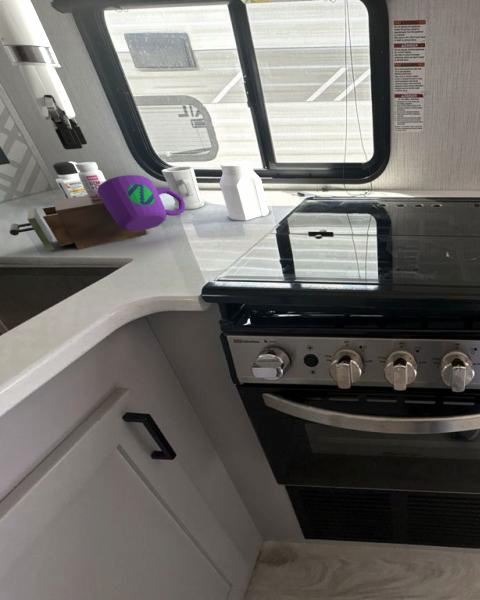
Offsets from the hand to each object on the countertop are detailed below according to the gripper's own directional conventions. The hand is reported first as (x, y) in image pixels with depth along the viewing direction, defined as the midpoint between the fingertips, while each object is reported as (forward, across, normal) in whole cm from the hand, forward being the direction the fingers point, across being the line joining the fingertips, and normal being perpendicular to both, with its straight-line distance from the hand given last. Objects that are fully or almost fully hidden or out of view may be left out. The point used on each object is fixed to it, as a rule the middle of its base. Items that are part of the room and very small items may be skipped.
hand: (76, 146), depth 79 cm
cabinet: (+22, 0, -2) cm, 22 cm away
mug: (+18, +12, +10) cm, 24 cm away
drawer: (+21, +2, -10) cm, 23 cm away
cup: (+22, -16, +20) cm, 34 cm away
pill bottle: (+12, 0, 0) cm, 12 cm away
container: (+22, -51, -12) cm, 57 cm away
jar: (+22, +5, +33) cm, 40 cm away
